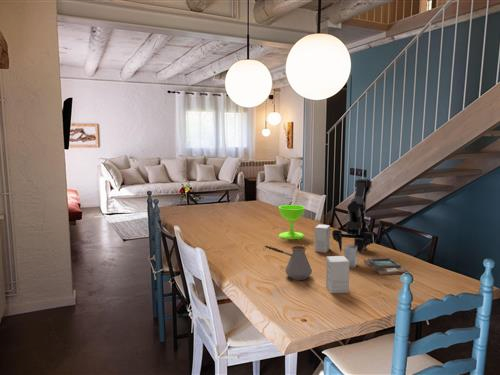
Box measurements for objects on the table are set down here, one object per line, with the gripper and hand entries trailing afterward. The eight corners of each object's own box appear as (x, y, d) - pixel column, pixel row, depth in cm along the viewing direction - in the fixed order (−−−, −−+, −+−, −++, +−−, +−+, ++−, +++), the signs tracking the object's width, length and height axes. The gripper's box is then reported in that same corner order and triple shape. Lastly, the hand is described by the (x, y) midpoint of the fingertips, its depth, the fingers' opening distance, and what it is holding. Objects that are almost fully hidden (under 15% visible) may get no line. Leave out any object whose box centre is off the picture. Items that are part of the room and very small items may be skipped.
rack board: (363, 261, 186) (364, 257, 186) (389, 260, 187) (390, 256, 187) (379, 274, 168) (380, 270, 168) (408, 273, 169) (408, 268, 169)
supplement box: (343, 285, 156) (344, 255, 154) (349, 293, 148) (349, 261, 147) (325, 286, 156) (326, 255, 154) (330, 293, 148) (330, 261, 147)
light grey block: (345, 263, 184) (346, 244, 183) (356, 264, 182) (357, 245, 181) (344, 266, 180) (344, 247, 179) (355, 267, 178) (355, 248, 177)
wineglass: (304, 233, 243) (304, 205, 241) (305, 239, 227) (305, 209, 225) (278, 232, 245) (278, 204, 242) (278, 239, 229) (278, 209, 227)
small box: (318, 247, 211) (318, 224, 210) (329, 248, 209) (330, 225, 207) (314, 251, 204) (314, 227, 202) (326, 252, 201) (326, 228, 200)
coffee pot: (305, 271, 173) (306, 238, 172) (316, 280, 162) (316, 245, 161) (260, 275, 168) (259, 242, 166) (267, 285, 157) (267, 249, 155)
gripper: (333, 213, 186) (327, 241, 177) (373, 216, 179) (370, 245, 170) (336, 225, 194) (331, 253, 185) (375, 229, 187) (371, 257, 178)
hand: (350, 252), depth 179 cm, fingers open, 9 cm apart
